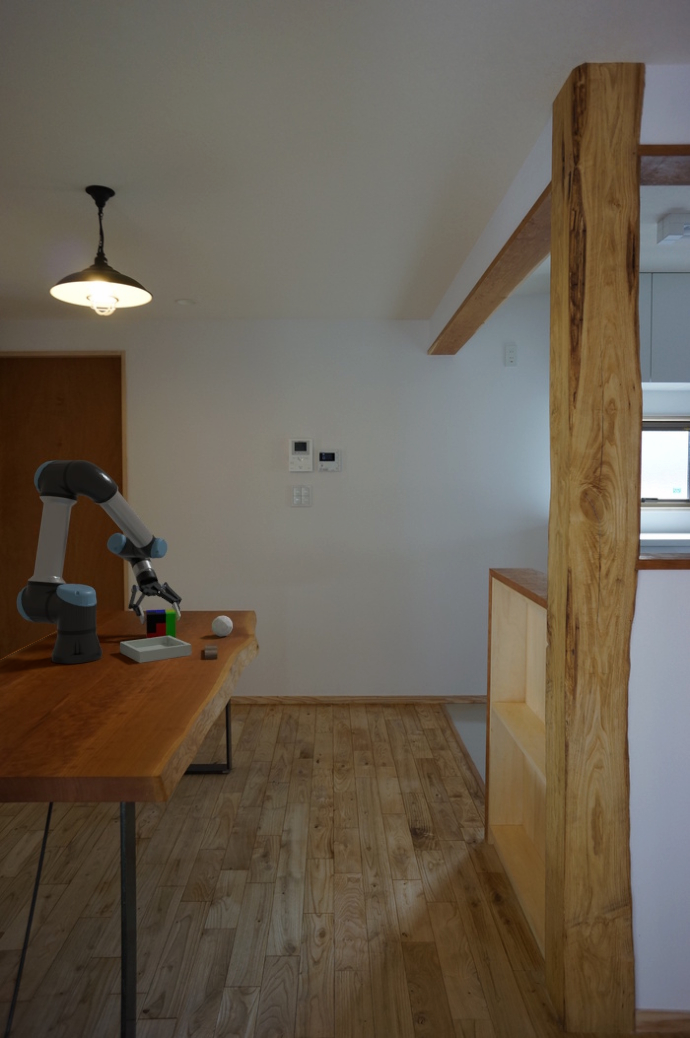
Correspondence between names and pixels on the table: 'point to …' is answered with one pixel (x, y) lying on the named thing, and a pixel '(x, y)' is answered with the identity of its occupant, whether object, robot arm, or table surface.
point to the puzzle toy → (160, 623)
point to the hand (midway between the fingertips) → (161, 620)
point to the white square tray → (155, 649)
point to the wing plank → (210, 652)
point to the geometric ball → (222, 626)
